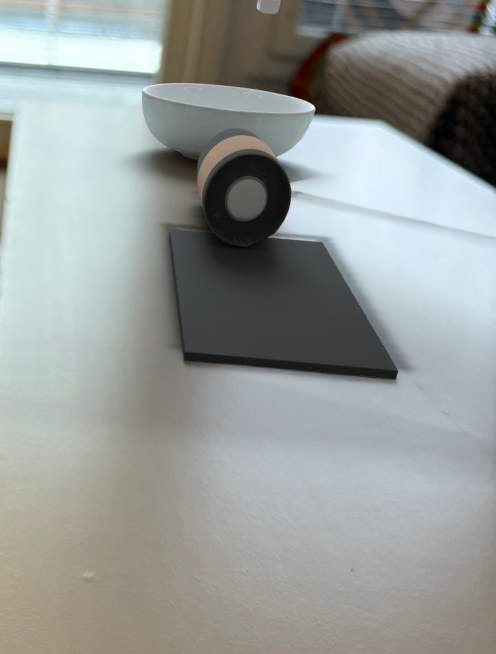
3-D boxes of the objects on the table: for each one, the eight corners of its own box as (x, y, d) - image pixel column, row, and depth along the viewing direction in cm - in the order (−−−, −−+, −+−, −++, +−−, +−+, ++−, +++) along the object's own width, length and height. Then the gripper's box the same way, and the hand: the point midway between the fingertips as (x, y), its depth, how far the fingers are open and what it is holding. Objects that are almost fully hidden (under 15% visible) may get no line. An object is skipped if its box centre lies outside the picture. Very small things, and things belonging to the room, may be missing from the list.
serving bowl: (269, 185, 111) (282, 117, 106) (106, 156, 119) (113, 92, 115) (324, 159, 125) (338, 99, 121) (176, 135, 133) (184, 77, 129)
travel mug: (213, 112, 97) (225, 137, 81) (283, 141, 98) (309, 171, 81) (182, 191, 102) (187, 229, 85) (249, 217, 102) (267, 260, 86)
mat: (169, 235, 90) (170, 229, 90) (320, 248, 90) (322, 241, 89) (183, 360, 65) (185, 351, 64) (396, 379, 64) (398, 370, 64)
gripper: (360, -188, 75) (317, 24, 83) (319, -168, 91) (287, 7, 99) (277, -193, 75) (242, 19, 83) (252, -172, 91) (225, 3, 100)
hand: (266, 12), depth 91 cm, fingers closed
